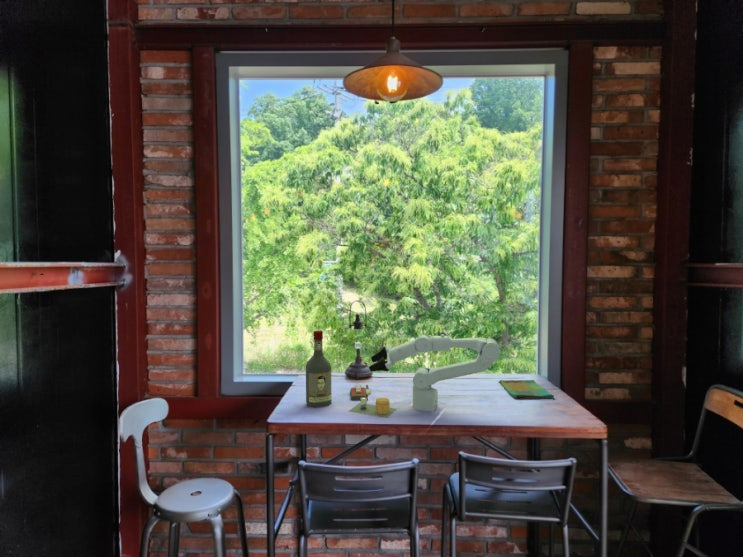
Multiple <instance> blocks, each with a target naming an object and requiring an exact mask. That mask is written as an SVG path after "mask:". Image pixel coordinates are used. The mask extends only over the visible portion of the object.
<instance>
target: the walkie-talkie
mask: <svg viewBox="0 0 743 557" xmlns="http://www.w3.org/2000/svg"><path fill="white" fill-rule="evenodd" d="M349 393H350V400H351V401H358V400H360V398H362V397H366V398H367V401H368V400H369V398H368V397H369V395H371V394H372V392H371V388H369V385H368V384H366V385H365V387H361V385H359V384H358V385H355V387H351V388H350V390H349Z"/></svg>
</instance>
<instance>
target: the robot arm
mask: <svg viewBox="0 0 743 557" xmlns="http://www.w3.org/2000/svg"><path fill="white" fill-rule="evenodd" d="M451 348H452V349H453V348H454V349H455V348H456V349H458V348H459V349H473V350H475V351H476V352H477V353H478V354H477V357H476V358H475V359H471V360H467V361H462V362H456V363H452V364H448V365H444V366H439V367H432V366H431V367H424V366H421V367H419V368H417V369H416V370H415V373H414V376H413V378H412V383H413V384H412V408H413V409H415V410H417V411H423V412H424V411H427V412H431V413H432V412H435V410H436V409H437V408H438V407H439V406H438V405H439V404H438V400H439V399H438V398H439V394H438V390H437V388H434V387H432V386H433V385H434V384H437V383H438V382H440V381H441V382H442V381H445V380H451V379H455V378H460V377H465V376H470V375H474V374H479V373H483V372H485V371H486V370H488V368H490V366H492V365H493V364H494V363H496V362H497V361H498V359H499V357H500V354H501V349H500V346H499V344H498V342H497V340H496V339H495V338H492V337H487V338H486V337H467V338H465V337H464V338H450V337H449V336H448V335H445V334H440V335H431V334H428V336H427V335H424V334H420V335H419V336H417V338H415V339H412V340H409V341H407V342H403V343H402V344H398V345H396V346H392V345H390V346H388V347H385V345H384V346H382V347H381V349H380V350H378V352H376V353H375V354H373V355H372V356H371V357H370V360H371V362H372V363H373V364H371V365H369V366H368V369H369V370H370V372H382V371H383V372H389V371H390V369H391V368H393V366H394V365H395V364H396V363H398V362H400V361H403V360H405V359H408V358H410V357H414V356H416V355H418V354H420V353H424V354H425V353H428V352H429V351H431V352H448V351H449V350H451Z"/></svg>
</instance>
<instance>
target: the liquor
mask: <svg viewBox="0 0 743 557" xmlns="http://www.w3.org/2000/svg"><path fill="white" fill-rule="evenodd" d="M323 340H324V335H323V330H314V331H313V341H314V342H313V353H312V356H311V357H310V359H309V360H308V361H307V362H306V364H305V402H306V405H307V406H308V407H309V408H315V409H316V408H323V407H329V406H330V405H332V404H333V403H332V365H331V362H329V361H328V359H327V358H326V357H325V356H324V350H323Z"/></svg>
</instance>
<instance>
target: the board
mask: <svg viewBox="0 0 743 557" xmlns="http://www.w3.org/2000/svg"><path fill="white" fill-rule="evenodd" d="M397 409H398V408H394V407H390V412H389V413H387V414H378V413H376V404H370V403H367V409H364V410H363V409H360V402H359V403H357V404H356V405H355V406H353V407H352V408H351V409H349V410H348V412H351V413H357V414H362V415H368V416H373V417H378V418H386V419H388V418H389V417H390V416H391V415H393V413H395V411H397Z"/></svg>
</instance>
